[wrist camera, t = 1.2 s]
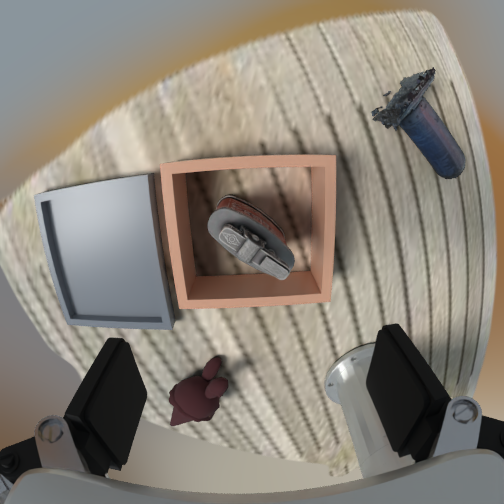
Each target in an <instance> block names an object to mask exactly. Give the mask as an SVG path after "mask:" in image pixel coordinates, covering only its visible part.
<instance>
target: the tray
mask: <svg viewBox="0 0 504 504" xmlns="http://www.w3.org/2000/svg"><path fill="white" fill-rule="evenodd" d="M34 198H35V205H36V211H37V217H38V222H39V227H40V232H41V237H42V241H43V246H44V250H45V254H46V258H47V262H48V266H49V270H50V273H51V277H52V280H53V283H54V287H55V290H56V293H57V296H58V299H59V302H60V305H61V308H62V311H63V314H64V316H65V319H66V322H67V324H68V325H79V326H92V327H108V328H128V329H163V330H172V329H173V326H174V323H175V321H176V320H175V315H174V310H173V305H172V300H171V295H170V290H169V284H168V278H167V273H166V267H165V260H164V254H163V247H162V241H161V233H160V226H159V218H158V210H157V201H156V192H155V182H154V173H151V174H143V175H136V176H129V177H122V178H115V179H109V180H103V181H97V182H91V183H86V184H80V185H75V186H70V187H65V188H60V189H56V190H51V191H46V192H42V193H39V194H36V195H34Z"/></svg>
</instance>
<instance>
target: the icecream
mask: <svg viewBox="0 0 504 504" xmlns="http://www.w3.org/2000/svg"><path fill="white" fill-rule="evenodd" d="M221 363H222V361H221V359H220V358H219V357H215V358H212V359H211V360H210V361H208V362H207V363H206V365H205V367H204V370H203V373H202V377H201V376H193V377H190V378H187V379H184V380H182V381H181V382H180V383H178V384H176V385H175V386H174V387H173V389H172V390H171V391H170V392H169V394H170V398H169V402H170V404H171V405H173V406H174V408H173V413H172V418H171V422H170V425H171V426H176V425H179V424H183V423H186V422H189V421H193V420H194V421H196V422H200V421H209V420H211V418H212V416H213V415H214V413H215V411H216V410H217V409H218V408H219V406H220V405H219V399H220V397H221V396H223V393H224V392H225V391H226V390H227V388H228V380H227V379H226V378H223V377H218V378H215V379H213V378H214V376H215V375H216V374H217V372H218V370H219V368H220V366H221ZM212 379H213V380H212ZM211 380H212V381H211Z"/></svg>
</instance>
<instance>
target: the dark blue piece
mask: <svg viewBox="0 0 504 504" xmlns="http://www.w3.org/2000/svg"><path fill="white" fill-rule="evenodd" d="M436 72H437V71H436ZM423 73H424V74H423ZM422 74H423V75H422ZM434 74H435V69H434V67H433V68H432V69H430V70H426V71H425V72H421V73H420V74H419V73H417V74H416V75H415V74H413V76H412V77H407V78H404V79H403V80H402V81H401V82H400V84H402V85H401V86H402V87H401V88H400V90H399V92H397V93H396V94H395V95H393V98H392V99H391V102H388V103H389V104H387V106H386V109H384V110H382V111H380V113H379V111H378V108H376V109H375V110H374V111H372V116H375V115H374V114H376V113H378V115H376V117H374V118H373V120H374V121H376V120H378V121H381V122H382V124H383V125H385V127H387V129H389V128H388V127H390V126H392V125H393V126H394V129H395V130H397V126H398V125H400V127H401V128H403V130H404V131H405V132H406V133H407V134H408V136H409V137H410V138H411V139H412V140H413V142H414V143H415V144H416V146H417V147H418V148H419V149H420V151H421V152H422V153H423V155H424V156H425V157H426V159H427V160H428V161H429V163H430V164H431V165H432V167H433V168H434V170H435V171H436V172H437V174H438V175H439V176H441V177H443V178H445V179H452V178H456V177H458V176H459V175H460V174H461V173H462V172H463V170H464V168H465V156H464V154H463V152H462V151H461V149H460V147H459V146H458V144H457V142H456V141H455V139H454V138H453V136H452V135H451V133H450V132H449V130H448V129H447V127H446V126H445V125H444V123H443V122H442V121H441V119H440V118H439V116H438V115H437V113H436V112H435V111H434V110H433V108H432V107H431V106H430V104H429V103H428V102H427V100H426V99H425V98H424V97H423V96H422V95H424V93H425V91H427V89H428V86H429V87H430V83H431V82H432V81H434V80H433V79H435V78H434V77H435V76H434ZM390 92H391V91H390ZM390 92H389V91H388V93H386V94H385V95H383V96H387V95H388V94H389V93H390ZM380 108H382V107H380ZM388 124H390V125H388Z"/></svg>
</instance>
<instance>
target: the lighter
mask: <svg viewBox="0 0 504 504" xmlns="http://www.w3.org/2000/svg"><path fill="white" fill-rule="evenodd" d="M208 231H209V233H210V234H211V236H212V237H213V238H214V239H215V240H216V241H218V242H219V243H220V244H221V245H222V246H223V247H224V248H225V249H226V250H227V251H229V252H230V253H231V254H233V255H234V256H235V257H237V258H238V259H239V260H241V261H243V262H244V263H246V264H248V265H250V266H251V267H253V268H255V269H257V270H259V271H262V272H264V273H267V274H269V275H271V276H274V277H276V278H278V279H279V280H284V279H286V278H287V277H288V275H289V274H290V271H291V269H292V268H293V266H294V262H295V260H294V255H293V253H292V251H291V250H290V249H289V248H288V247H287V244H286V242H285V235H284V232H283V230H282V229H281V228H280V227H279V225H278V224H277V223H276V222H275V221H274V220H273V219H272V218H271V217H269V216H268V215H267V214H266V213H265V212H263V211H262V210H261V209H259V208H258V207H256V206H254V205H253V204H251V203H249V202H248V201H246V200H243V199H241V198H239V197H237V196H234V195H225V196H224V197H222V198H221V199H220V200H219V202H218V204H217V207H216V210H215V211H214V212H213V213H212V215H211V216H210V218H209V221H208Z"/></svg>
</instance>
